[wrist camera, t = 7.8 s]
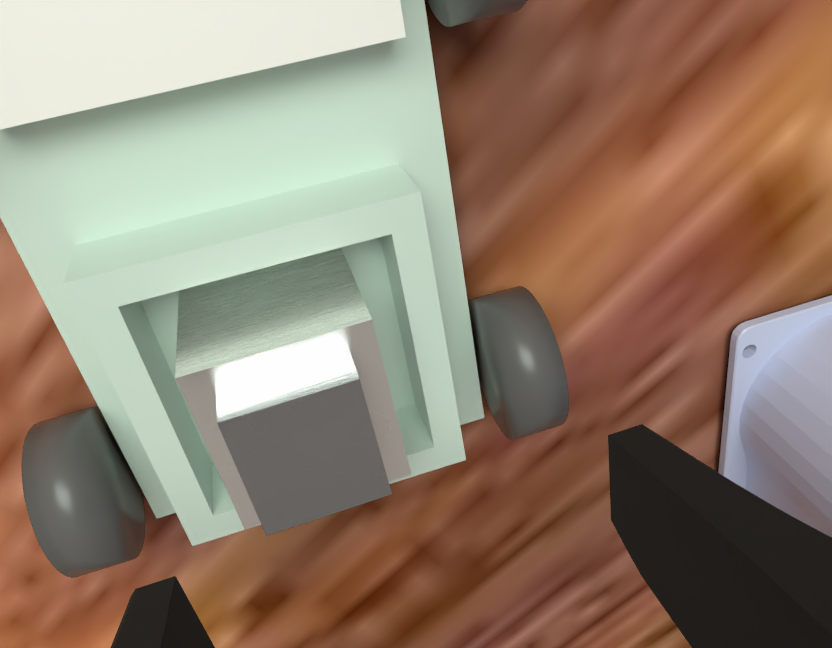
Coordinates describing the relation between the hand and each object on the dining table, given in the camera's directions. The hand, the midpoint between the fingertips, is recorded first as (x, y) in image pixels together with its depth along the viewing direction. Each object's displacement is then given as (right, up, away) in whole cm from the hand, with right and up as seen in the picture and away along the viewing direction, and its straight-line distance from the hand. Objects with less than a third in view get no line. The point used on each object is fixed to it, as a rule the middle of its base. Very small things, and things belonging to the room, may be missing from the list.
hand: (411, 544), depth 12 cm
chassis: (-4, +7, +6) cm, 10 cm away
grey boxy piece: (-3, +3, +7) cm, 8 cm away
